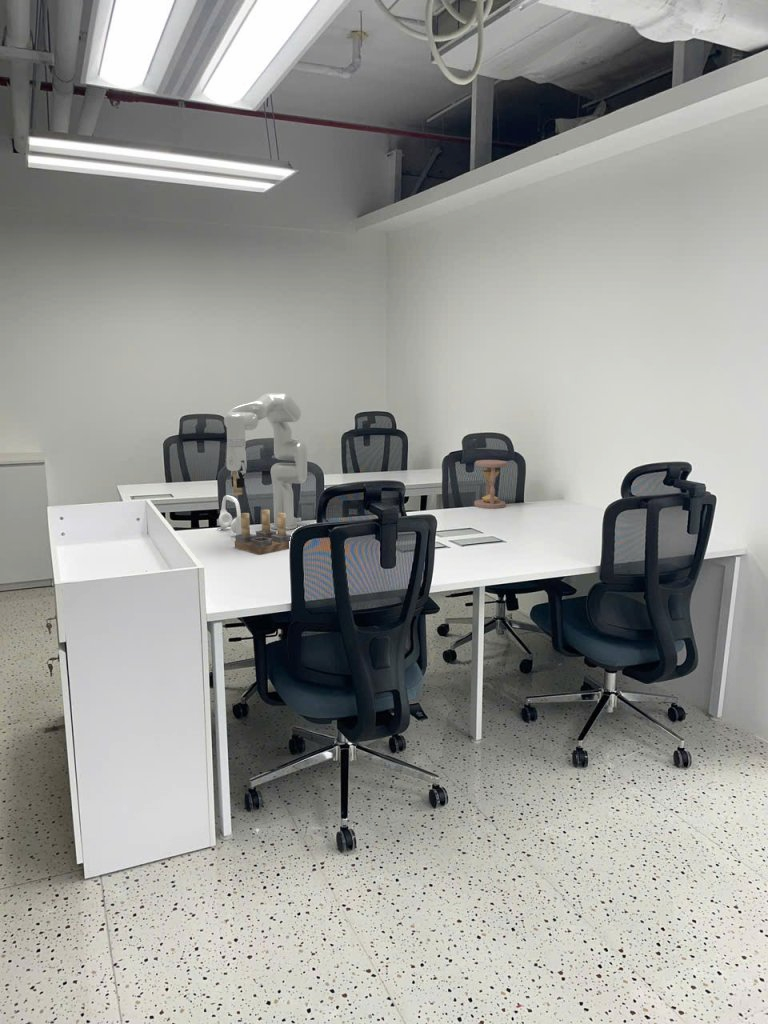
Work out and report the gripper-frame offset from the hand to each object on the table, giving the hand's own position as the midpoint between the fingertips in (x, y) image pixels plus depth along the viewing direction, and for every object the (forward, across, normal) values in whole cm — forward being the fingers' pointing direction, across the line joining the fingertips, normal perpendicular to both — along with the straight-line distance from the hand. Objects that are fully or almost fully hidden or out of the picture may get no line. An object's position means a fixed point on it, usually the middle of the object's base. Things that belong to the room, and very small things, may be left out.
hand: (238, 486), depth 318 cm
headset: (+28, -31, +12) cm, 43 cm away
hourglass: (+27, -6, +159) cm, 161 cm away
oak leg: (+3, 0, 0) cm, 3 cm away
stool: (+27, +4, +10) cm, 29 cm away
